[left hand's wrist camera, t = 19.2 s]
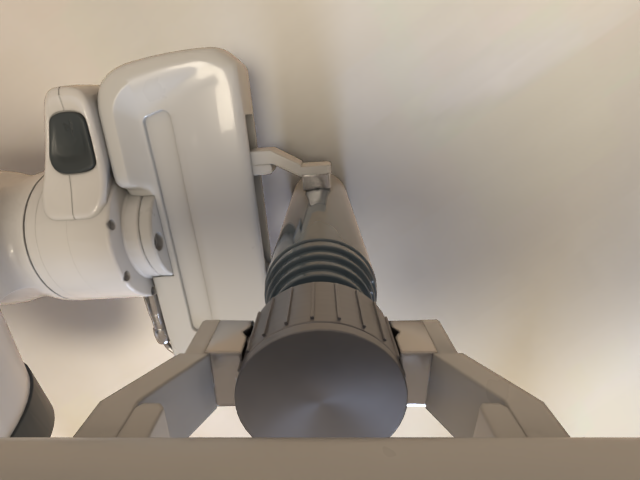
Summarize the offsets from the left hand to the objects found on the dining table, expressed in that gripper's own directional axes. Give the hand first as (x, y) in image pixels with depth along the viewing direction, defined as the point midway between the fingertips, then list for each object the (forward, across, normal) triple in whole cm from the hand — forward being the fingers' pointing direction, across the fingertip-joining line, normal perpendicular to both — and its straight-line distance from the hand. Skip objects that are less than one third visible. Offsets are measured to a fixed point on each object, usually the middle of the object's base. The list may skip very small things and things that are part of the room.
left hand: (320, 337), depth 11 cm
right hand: (+12, -1, 0) cm, 13 cm away
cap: (-2, 0, 0) cm, 2 cm away
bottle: (+18, 0, 0) cm, 18 cm away
